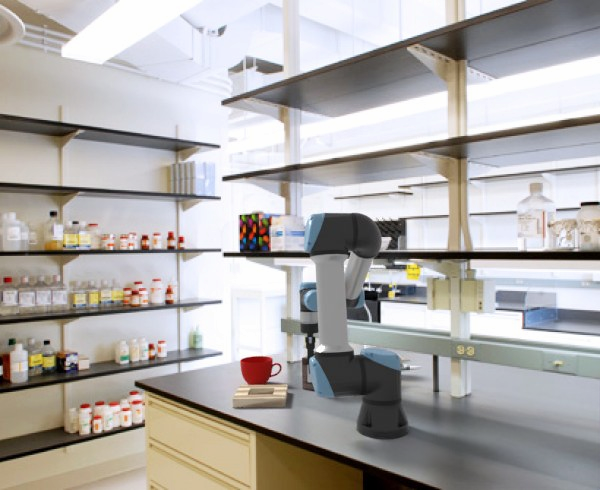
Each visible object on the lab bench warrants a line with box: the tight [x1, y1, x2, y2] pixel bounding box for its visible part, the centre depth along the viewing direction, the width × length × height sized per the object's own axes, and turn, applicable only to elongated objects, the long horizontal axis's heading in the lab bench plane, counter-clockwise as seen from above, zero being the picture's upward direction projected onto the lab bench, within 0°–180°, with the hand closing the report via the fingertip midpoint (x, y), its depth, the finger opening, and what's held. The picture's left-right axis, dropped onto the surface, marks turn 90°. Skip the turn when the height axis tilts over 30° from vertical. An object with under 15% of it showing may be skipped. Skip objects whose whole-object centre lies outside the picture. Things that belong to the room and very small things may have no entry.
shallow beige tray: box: [232, 384, 289, 409], centre depth 177 cm, size 17×18×3 cm
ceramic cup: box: [239, 355, 283, 385], centre depth 197 cm, size 13×17×10 cm
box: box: [301, 356, 315, 392], centre depth 190 cm, size 6×4×12 cm
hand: (311, 377), depth 190 cm, fingers open, 13 cm apart
